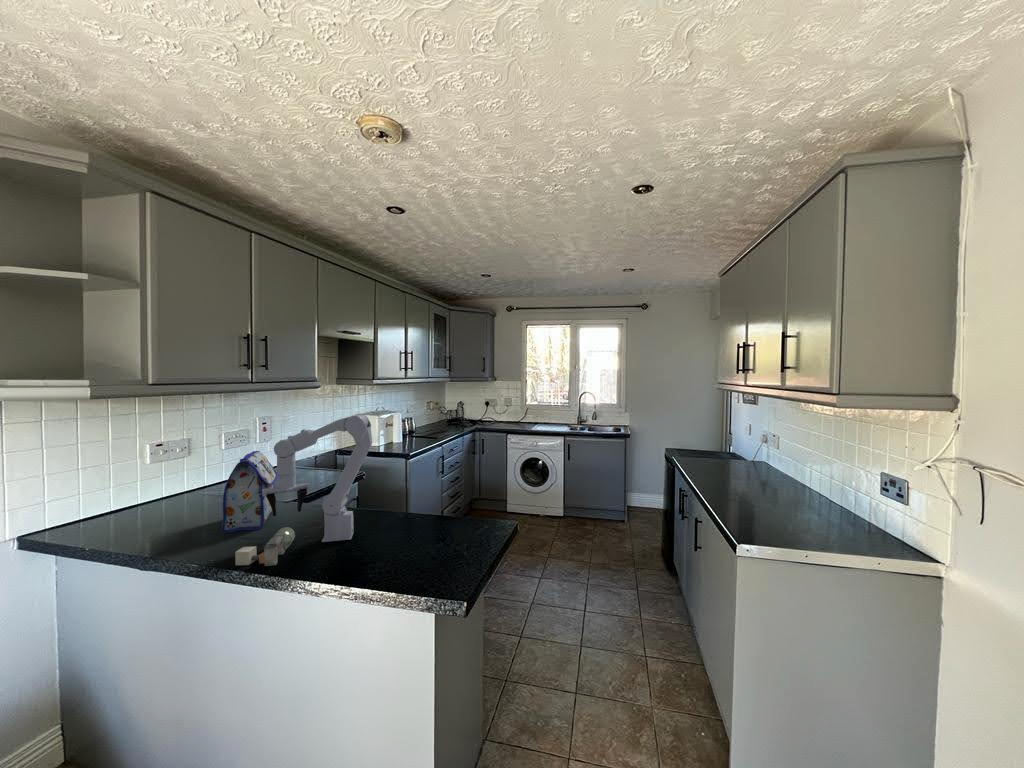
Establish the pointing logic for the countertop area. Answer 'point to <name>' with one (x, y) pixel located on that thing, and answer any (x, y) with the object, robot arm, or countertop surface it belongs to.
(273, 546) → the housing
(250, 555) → the plug
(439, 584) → the countertop surface
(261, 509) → the lunch bag
